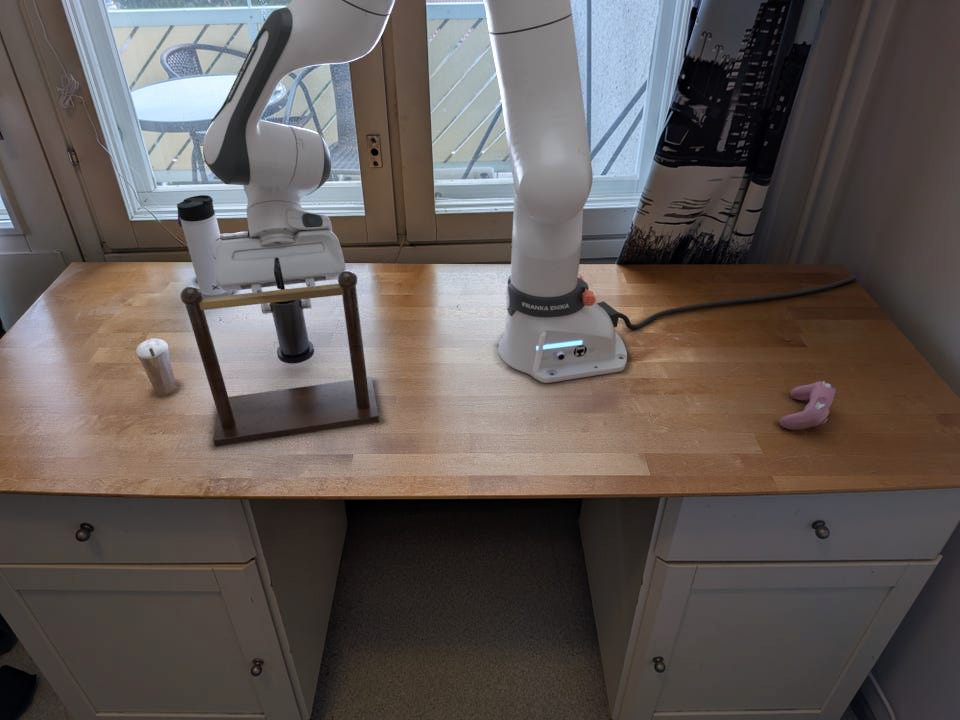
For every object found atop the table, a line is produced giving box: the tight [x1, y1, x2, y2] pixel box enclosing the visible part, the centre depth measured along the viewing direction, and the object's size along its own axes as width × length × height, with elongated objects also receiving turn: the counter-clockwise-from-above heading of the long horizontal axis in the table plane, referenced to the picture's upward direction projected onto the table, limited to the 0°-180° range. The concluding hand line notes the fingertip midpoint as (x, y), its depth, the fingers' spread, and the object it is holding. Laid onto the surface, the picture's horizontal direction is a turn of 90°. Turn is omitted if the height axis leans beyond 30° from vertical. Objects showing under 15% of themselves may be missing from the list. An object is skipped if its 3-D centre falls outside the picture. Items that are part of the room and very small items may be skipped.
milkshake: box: [135, 337, 178, 396], centre depth 102 cm, size 4×5×10 cm
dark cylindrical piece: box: [270, 257, 315, 365], centre depth 103 cm, size 8×6×18 cm
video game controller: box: [779, 380, 837, 431], centre depth 100 cm, size 10×5×7 cm, turn 148°
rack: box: [180, 269, 380, 447], centre depth 94 cm, size 10×24×25 cm, turn 104°
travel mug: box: [176, 194, 234, 298], centre depth 125 cm, size 6×7×20 cm
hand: (287, 310), depth 104 cm, fingers closed on dark cylindrical piece, 5 cm apart
